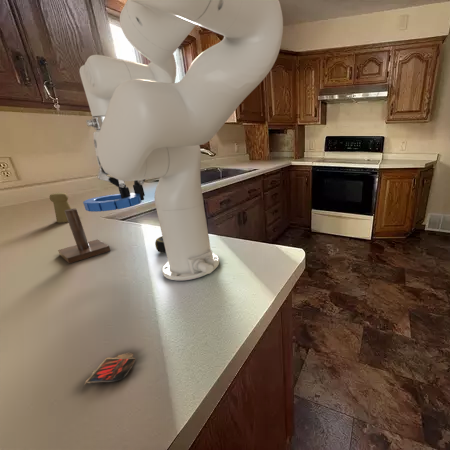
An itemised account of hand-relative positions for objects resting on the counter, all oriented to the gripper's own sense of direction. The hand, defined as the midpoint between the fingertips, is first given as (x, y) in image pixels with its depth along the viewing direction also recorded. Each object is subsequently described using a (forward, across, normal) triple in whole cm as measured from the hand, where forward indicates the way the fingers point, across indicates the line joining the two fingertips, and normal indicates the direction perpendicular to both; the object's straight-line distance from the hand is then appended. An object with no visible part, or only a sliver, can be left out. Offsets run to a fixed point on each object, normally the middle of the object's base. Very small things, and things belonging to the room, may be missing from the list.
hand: (134, 200), depth 65 cm
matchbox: (+15, -21, -37) cm, 45 cm away
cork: (+13, -5, +58) cm, 59 cm away
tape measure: (+15, +4, -6) cm, 16 cm away
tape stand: (+14, -11, +13) cm, 22 cm away
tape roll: (0, -4, 0) cm, 5 cm away
